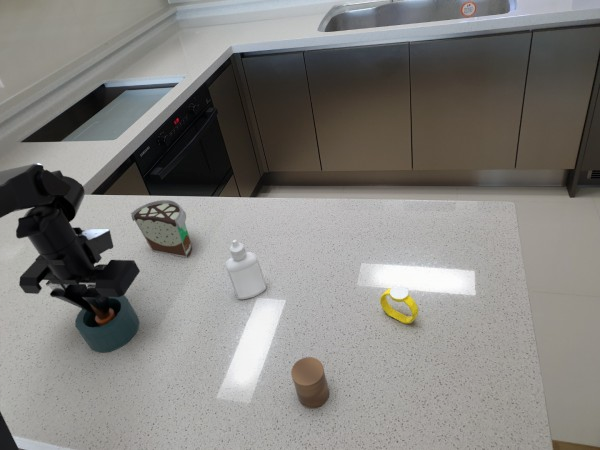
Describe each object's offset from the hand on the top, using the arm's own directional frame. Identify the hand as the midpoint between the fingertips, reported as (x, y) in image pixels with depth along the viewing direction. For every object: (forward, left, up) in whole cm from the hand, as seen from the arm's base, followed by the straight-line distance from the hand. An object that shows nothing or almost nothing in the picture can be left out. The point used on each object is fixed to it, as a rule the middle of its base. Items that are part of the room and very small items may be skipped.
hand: (101, 311), depth 78 cm
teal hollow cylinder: (0, 0, -5) cm, 5 cm away
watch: (+34, -36, -5) cm, 50 cm away
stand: (+16, -35, -5) cm, 39 cm away
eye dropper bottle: (+22, -12, -5) cm, 26 cm away
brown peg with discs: (0, 0, -4) cm, 4 cm away
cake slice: (+20, +12, -5) cm, 24 cm away
